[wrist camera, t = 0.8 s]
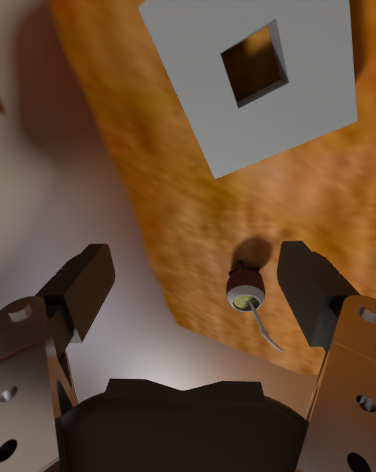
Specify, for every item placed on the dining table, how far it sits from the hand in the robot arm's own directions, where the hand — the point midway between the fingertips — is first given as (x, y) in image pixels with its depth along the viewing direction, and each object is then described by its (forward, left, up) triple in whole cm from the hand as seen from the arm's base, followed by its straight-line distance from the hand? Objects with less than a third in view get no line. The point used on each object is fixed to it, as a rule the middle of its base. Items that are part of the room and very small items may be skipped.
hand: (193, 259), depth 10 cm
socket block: (-4, +6, -25) cm, 26 cm away
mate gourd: (+28, -5, -26) cm, 38 cm away
